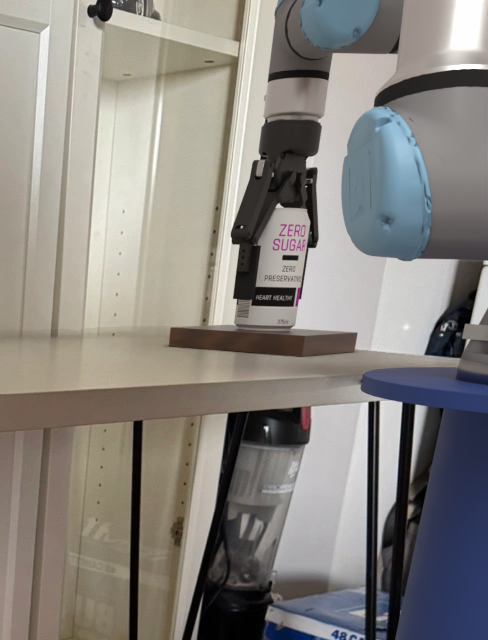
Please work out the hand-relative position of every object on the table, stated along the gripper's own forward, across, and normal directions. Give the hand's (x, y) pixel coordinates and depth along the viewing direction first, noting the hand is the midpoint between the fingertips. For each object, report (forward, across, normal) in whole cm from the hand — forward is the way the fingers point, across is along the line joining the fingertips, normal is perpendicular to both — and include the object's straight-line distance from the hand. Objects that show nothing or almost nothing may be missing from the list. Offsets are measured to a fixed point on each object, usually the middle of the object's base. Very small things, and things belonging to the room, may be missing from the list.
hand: (267, 299), depth 141 cm
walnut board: (+6, 0, 0) cm, 6 cm away
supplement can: (+4, 0, 0) cm, 4 cm away
